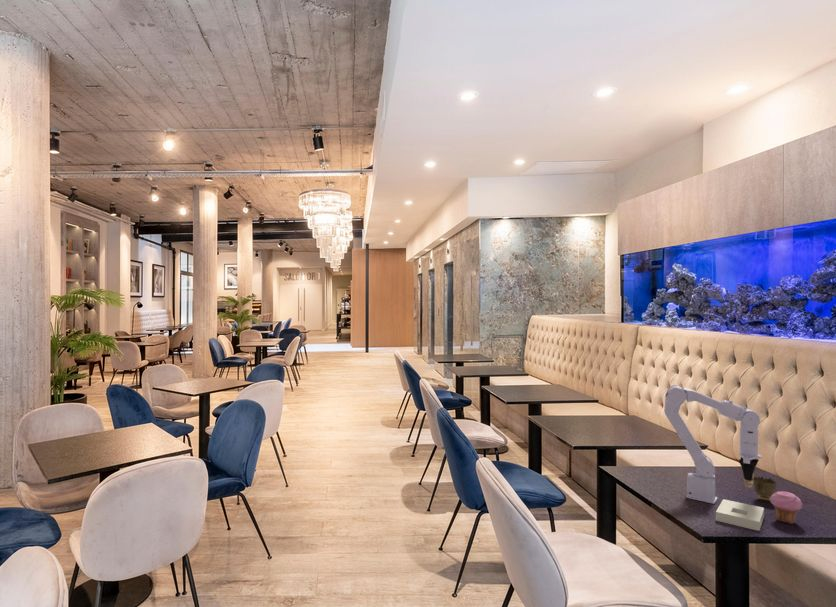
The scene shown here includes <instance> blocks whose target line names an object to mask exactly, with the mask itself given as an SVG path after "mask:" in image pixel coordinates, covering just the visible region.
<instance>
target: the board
mask: <svg viewBox="0 0 836 607" xmlns="http://www.w3.org/2000/svg"><path fill="white" fill-rule="evenodd" d="M764 518H765V507H762V506H757V505H752V504H748V503H744V502H738V501H733V500H729V499H724V498H723V499H722V501H721V502H720V504H719V506H718V507H717V509H716V511H715V521H717V522H719V523H725V524H729V525H733V526H736V527H741V528H746V529H749V530H752V531H753V530H754V531H760V530H761V527H762V524H763V521H764Z"/></svg>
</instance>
